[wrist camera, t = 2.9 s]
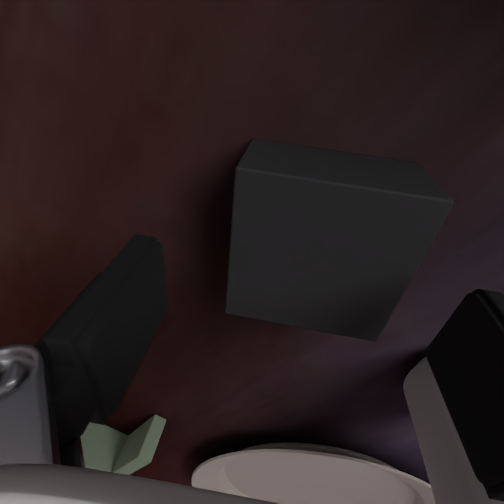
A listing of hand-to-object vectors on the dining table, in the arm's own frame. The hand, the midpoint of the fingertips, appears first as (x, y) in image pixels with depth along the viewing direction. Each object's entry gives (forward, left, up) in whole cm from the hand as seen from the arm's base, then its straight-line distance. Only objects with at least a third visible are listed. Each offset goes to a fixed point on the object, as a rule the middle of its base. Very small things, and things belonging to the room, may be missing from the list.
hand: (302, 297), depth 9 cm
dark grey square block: (0, 0, -5) cm, 5 cm away
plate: (+23, +22, -5) cm, 32 cm away
